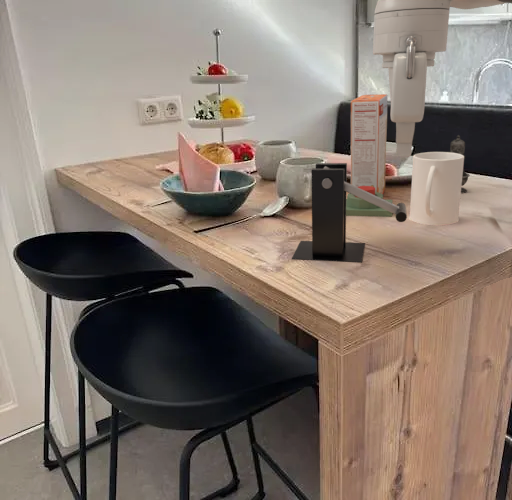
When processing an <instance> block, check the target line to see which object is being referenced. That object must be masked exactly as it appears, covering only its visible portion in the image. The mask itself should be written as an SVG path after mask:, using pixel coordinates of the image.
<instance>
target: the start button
mask: <svg viewBox="0 0 512 500" xmlns="http://www.w3.org/2000/svg"><path fill="white" fill-rule="evenodd" d="M358 188H360V189H362V190H364V191H367V192H369V193H371V194H373V195H375V187H372V186H359V187H358ZM355 197H357V196H355Z"/></svg>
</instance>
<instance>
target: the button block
mask: <svg viewBox="0 0 512 500" xmlns="http://www.w3.org/2000/svg"><path fill="white" fill-rule="evenodd" d="M375 196H377V197H380V198H382V199H384V193H383V194H381V193H379V192H375ZM385 200H386V201H388V202H390V203H392V204H393V199H385ZM346 217H378V218H379V217H381V218H392V217H393V213H391V212H389V211H387V210H385V209H383V208H380V207H378V206H376V205H374V204H372V203H370V202H368V201H365V200H363V199H361V198H359V197H355V195H353V194H350V193H347V194H346Z"/></svg>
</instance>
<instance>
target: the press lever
mask: <svg viewBox="0 0 512 500" xmlns="http://www.w3.org/2000/svg"><path fill="white" fill-rule="evenodd" d="M323 169H331V168H328V167H326V166H325V167H324V168H323ZM344 191H346V193H347V194H349V193H350V194H353V195H355V196H357V197H359V198H361V199H363V200H365V201H368V202H370V203H372V204H374V205H376V206H378V207H380V208H383V209H385V210H387V211H389V212H391V213H392V215H393V214H394V215H395V220H396V221H397V222H399V223H404V222H405V221H406V220H407V218H408V215H407V213H408V212H407V206H406V204H405V203H404V202H398V203H397V204H394V203H393V202H392V203H390V202H388V201H386V200H387V199H384V198H383V199H382V198H380V197H377V196H375V195H373V194H371V193H369V192H367V191H364V190H362V189H360V188H358V187H356V186H354V185H351V183H349V182H348V181H347V182H345V181H344Z"/></svg>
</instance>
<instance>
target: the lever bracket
mask: <svg viewBox="0 0 512 500" xmlns="http://www.w3.org/2000/svg"><path fill="white" fill-rule="evenodd" d="M325 166H326V167H328V168H331V169H323V168H324V167H325ZM310 174H311V240H300V241H299V244H298V245H297V247H296V249H295V251H294V253H293V255H292V257H291V260H296V261H298V260H299V261H317V262H318V261H319V262H337V263H338V262H339V263H361V264H362V263H363V259H364V253H365V247H366V243H365V242H349V241H348V242H347V216H346V199H347V192H346V191H344V181H345V182H347V183H348V181H347V178H348V163H347V162H323V163H322V162H316V163H315V168H312V169H311V173H310Z"/></svg>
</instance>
